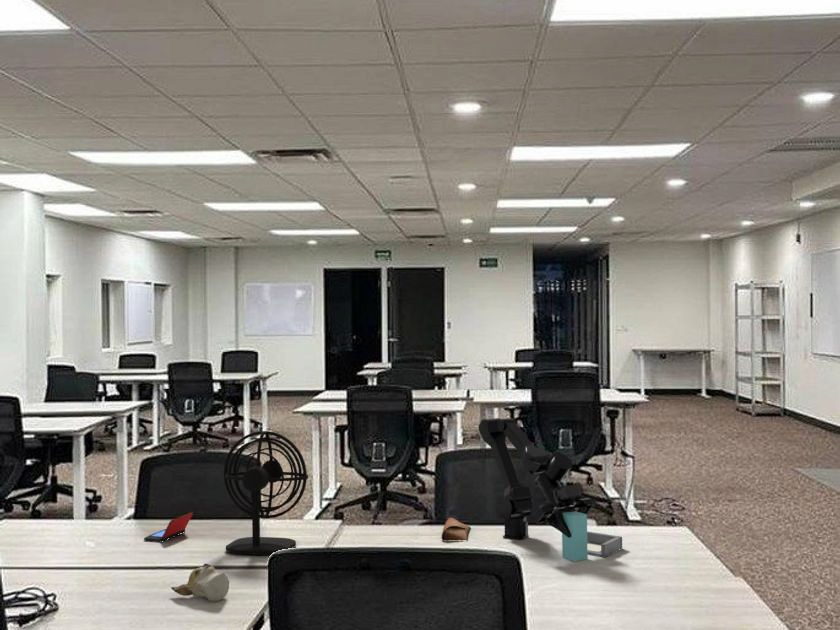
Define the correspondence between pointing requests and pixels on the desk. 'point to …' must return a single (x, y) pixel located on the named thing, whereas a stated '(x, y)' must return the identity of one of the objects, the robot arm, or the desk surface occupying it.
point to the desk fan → (257, 481)
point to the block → (575, 536)
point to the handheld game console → (171, 529)
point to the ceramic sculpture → (205, 584)
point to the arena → (602, 544)
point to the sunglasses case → (455, 530)
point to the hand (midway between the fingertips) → (577, 535)
